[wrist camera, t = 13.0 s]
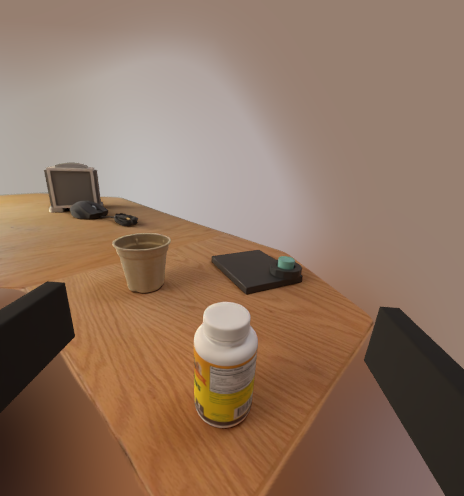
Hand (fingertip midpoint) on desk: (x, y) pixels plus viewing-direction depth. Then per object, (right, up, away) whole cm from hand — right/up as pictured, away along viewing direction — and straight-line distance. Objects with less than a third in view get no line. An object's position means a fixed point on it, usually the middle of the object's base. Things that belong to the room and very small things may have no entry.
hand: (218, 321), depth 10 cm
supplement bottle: (0, -12, +14) cm, 18 cm away
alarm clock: (-64, +20, +94) cm, 116 cm away
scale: (+5, -2, +43) cm, 43 cm away
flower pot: (-15, -4, +35) cm, 38 cm away
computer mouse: (-46, +13, +78) cm, 92 cm away
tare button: (+11, -1, +39) cm, 41 cm away
